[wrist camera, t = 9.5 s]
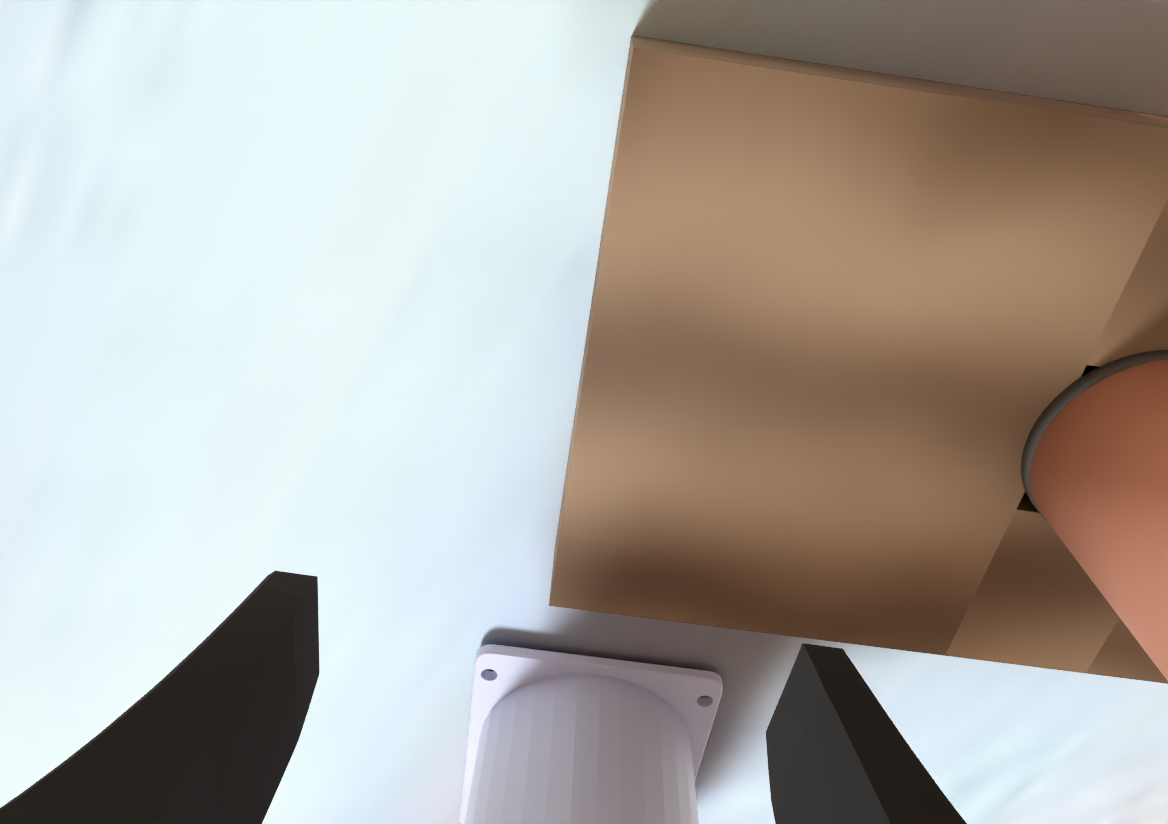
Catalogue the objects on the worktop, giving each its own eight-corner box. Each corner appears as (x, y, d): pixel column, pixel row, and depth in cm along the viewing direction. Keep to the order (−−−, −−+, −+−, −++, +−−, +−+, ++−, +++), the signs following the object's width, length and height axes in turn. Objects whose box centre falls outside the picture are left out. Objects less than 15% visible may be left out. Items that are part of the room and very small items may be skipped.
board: (1203, 630, 25) (1258, 694, 23) (555, 546, 24) (549, 605, 22) (1519, 170, 18) (1641, 200, 16) (631, 35, 18) (633, 47, 15)
